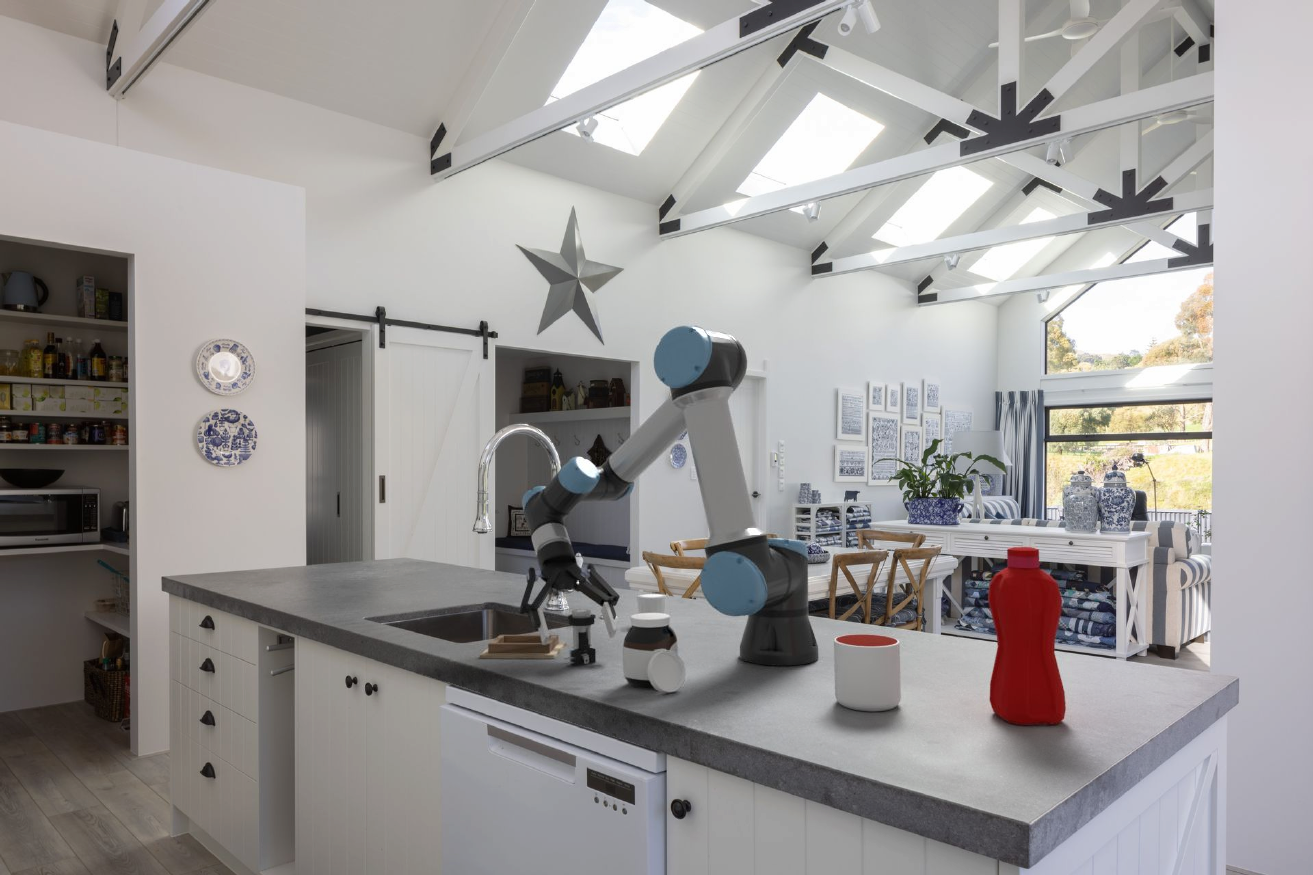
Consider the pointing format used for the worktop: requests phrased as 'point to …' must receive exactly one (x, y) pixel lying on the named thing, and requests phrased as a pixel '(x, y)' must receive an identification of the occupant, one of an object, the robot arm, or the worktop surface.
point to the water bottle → (1026, 642)
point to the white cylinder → (651, 603)
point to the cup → (867, 672)
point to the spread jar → (652, 654)
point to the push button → (581, 637)
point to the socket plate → (523, 647)
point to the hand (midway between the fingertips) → (580, 637)
